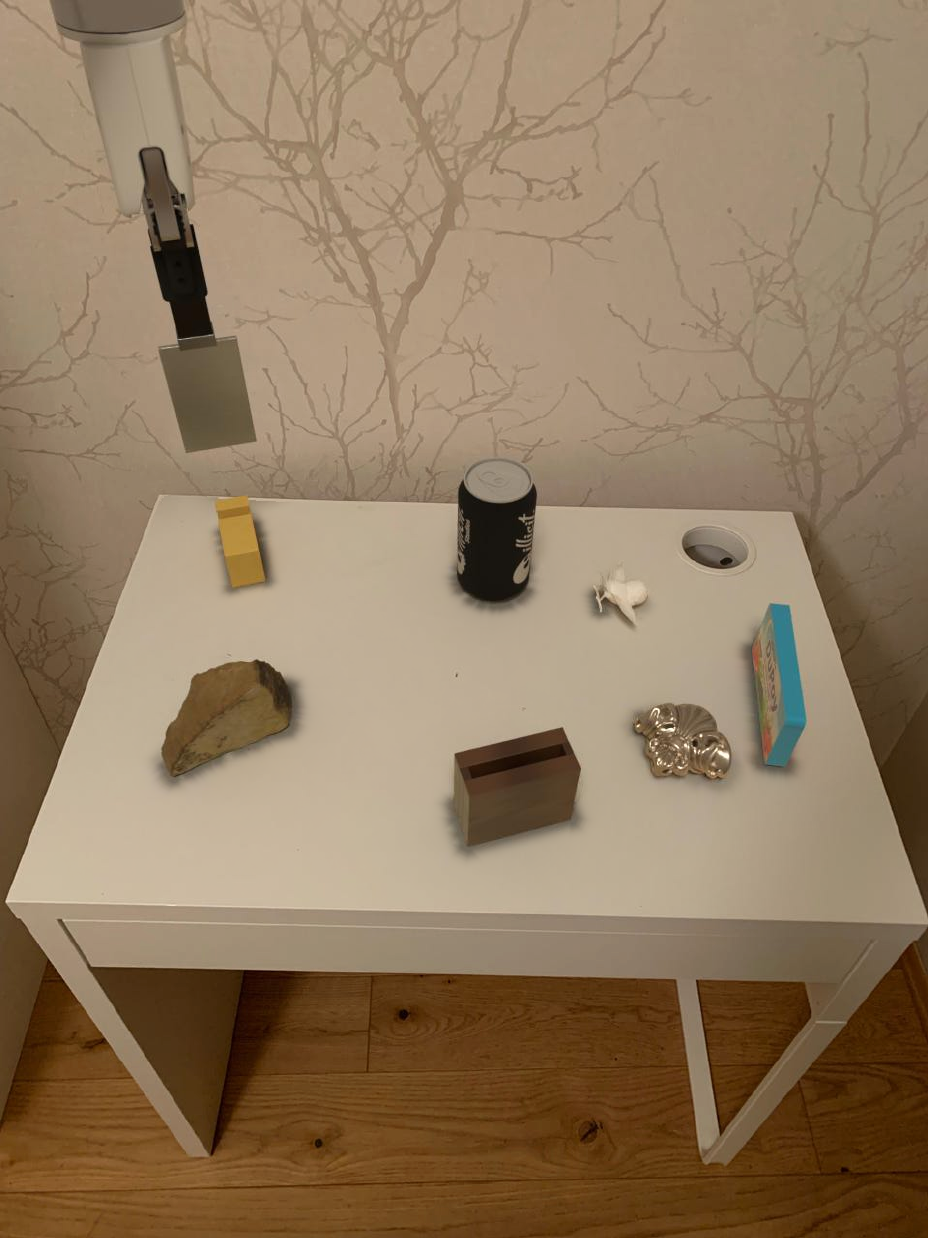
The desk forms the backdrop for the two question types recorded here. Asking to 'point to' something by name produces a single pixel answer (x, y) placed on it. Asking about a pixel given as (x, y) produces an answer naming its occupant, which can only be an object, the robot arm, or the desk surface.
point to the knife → (206, 381)
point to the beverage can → (495, 528)
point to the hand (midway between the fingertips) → (184, 287)
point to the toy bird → (622, 591)
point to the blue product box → (778, 686)
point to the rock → (226, 713)
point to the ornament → (684, 741)
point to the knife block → (515, 786)
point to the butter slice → (232, 507)
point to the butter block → (241, 550)
